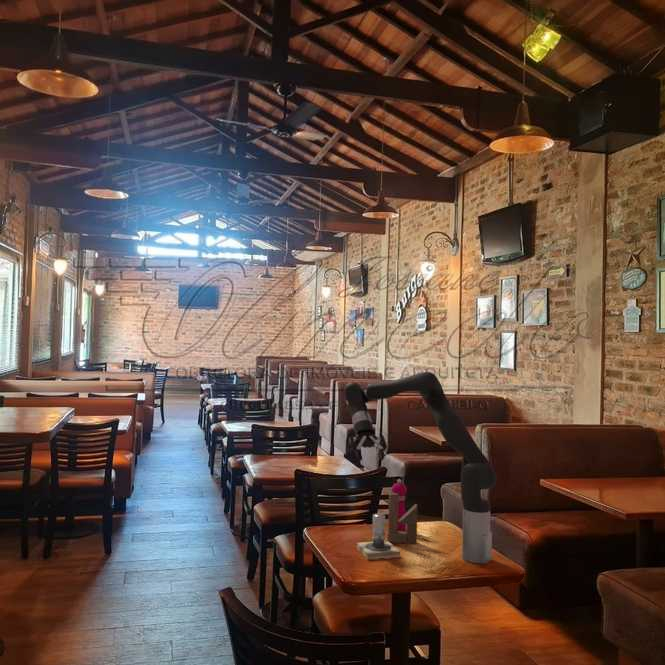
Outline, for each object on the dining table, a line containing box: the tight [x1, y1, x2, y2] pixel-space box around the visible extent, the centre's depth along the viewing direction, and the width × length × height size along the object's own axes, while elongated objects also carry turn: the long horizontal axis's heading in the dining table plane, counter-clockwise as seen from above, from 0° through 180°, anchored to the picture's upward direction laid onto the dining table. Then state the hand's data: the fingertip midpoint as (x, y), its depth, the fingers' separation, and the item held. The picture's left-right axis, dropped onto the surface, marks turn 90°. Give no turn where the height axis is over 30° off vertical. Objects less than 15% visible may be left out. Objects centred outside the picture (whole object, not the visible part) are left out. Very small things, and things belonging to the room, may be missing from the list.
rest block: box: [356, 540, 401, 561], centre depth 210 cm, size 12×12×2 cm
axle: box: [371, 512, 386, 548], centre depth 210 cm, size 4×4×11 cm
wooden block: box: [386, 492, 418, 545], centre depth 223 cm, size 4×11×18 cm, turn 89°
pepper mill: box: [391, 478, 408, 532], centre depth 239 cm, size 7×7×20 cm
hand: (371, 459), depth 224 cm, fingers open, 8 cm apart
